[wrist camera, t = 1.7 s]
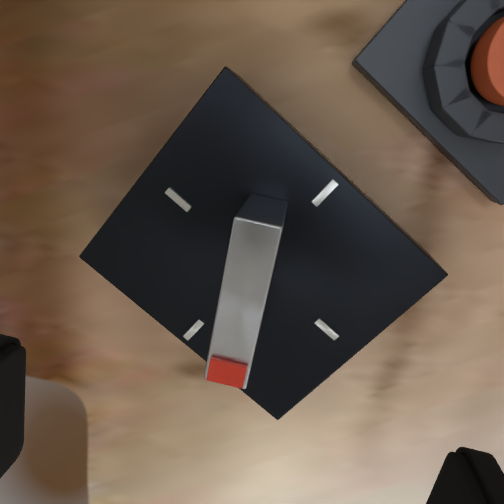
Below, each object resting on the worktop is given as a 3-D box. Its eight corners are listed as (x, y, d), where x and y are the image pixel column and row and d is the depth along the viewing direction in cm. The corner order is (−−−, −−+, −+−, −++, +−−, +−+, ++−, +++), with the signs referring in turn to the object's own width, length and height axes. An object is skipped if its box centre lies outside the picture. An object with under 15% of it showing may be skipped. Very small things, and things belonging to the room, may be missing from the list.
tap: (250, 193, 20) (232, 217, 15) (288, 201, 20) (283, 228, 15) (224, 323, 22) (201, 383, 17) (258, 331, 22) (245, 394, 17)
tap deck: (104, 241, 25) (76, 257, 22) (235, 73, 21) (224, 65, 18) (280, 388, 26) (277, 422, 23) (430, 255, 23) (449, 276, 20)
